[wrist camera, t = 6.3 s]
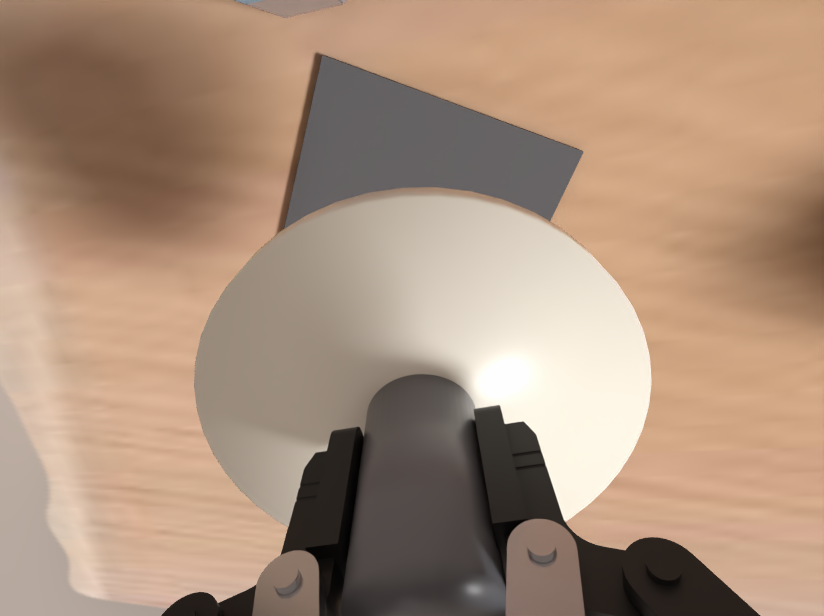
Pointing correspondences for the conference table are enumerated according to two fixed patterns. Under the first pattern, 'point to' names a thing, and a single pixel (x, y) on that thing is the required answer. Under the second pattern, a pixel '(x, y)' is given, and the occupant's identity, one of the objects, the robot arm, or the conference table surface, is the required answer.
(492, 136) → the mat
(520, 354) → the lid
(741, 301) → the conference table surface
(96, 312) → the conference table surface
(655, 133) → the conference table surface
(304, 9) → the bowl
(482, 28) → the conference table surface
